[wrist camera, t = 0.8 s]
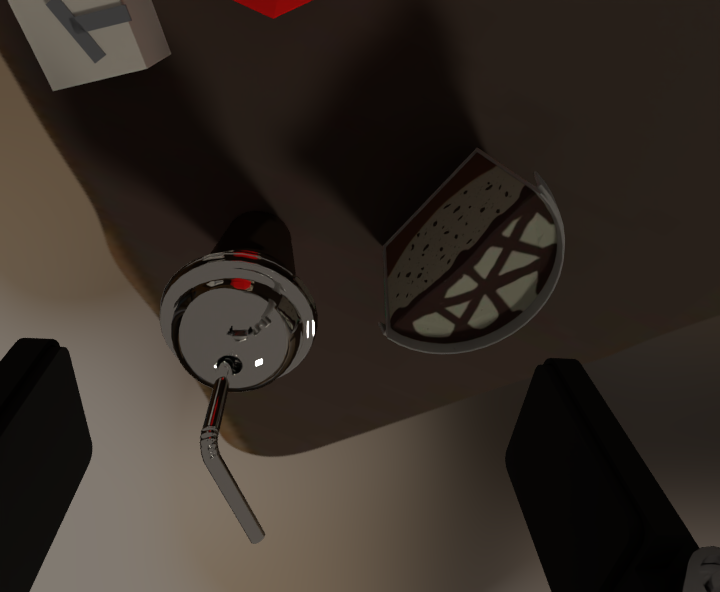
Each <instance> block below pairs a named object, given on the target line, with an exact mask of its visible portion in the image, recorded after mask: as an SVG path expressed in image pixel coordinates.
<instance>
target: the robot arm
mask: <svg viewBox="0 0 720 592" xmlns="http://www.w3.org/2000/svg"><path fill="white" fill-rule="evenodd" d="M91 456H92V441H91V437H90V434H89V429H88V426H87V422H86V418H85V414H84V410H83V406H82V402H81V398H80V394H79V390H78V386H77V382H76V378H75V374H74V370H73V366H72V362H71V358H70V354H69V351H68V350H67V348H65V347H60V345H59V343H58V342H57V341H56V340H54V339H38V338H36V339H35V338H21V339H19V340H18V341H17V342H16V343H15V344H14V345H13V346H12V348H11V349H10V350H9V351H8V353H7V354H6V355H5V356H4V357H3V359H2V360H1V361H0V592H29V591H30V589H31V587H32V585H33V583H34V581H35V578H36V576H37V574H38V572H39V570H40V568H41V566H42V563H43V561H44V559H45V557H46V555H47V553H48V551H49V549H50V546H51V544H52V542H53V540H54V538H55V536H56V534H57V531H58V529H59V527H60V525H61V523H62V521H63V519H64V516H65V514H66V512H67V510H68V508H69V506H70V504H71V501H72V499H73V497H74V495H75V493H76V491H77V489H78V486H79V484H80V482H81V480H82V478H83V475H84V474H85V471H86V469H87V467H88V465H89V463H90V460H91ZM505 462H506V468H507V471H508V474H509V477H510V479H511V482H512V485H513V487H514V490H515V493H516V496H517V499H518V501H519V504H520V507H521V510H522V512H523V515H524V518H525V520H526V523H527V526H528V529H529V531H530V534H531V537H532V540H533V542H534V545H535V548H536V551H537V553H538V556H539V559H540V562H541V564H542V567H543V570H544V573H545V575H546V578H547V581H548V583H549V586H550V589H551V592H720V548H719V547H715V546H711V547H702V548H699V547H698V545H697V544H696V542H695V541H694V539H693V537H692V536H691V534H690V532H689V531H688V529H687V528H686V526H685V524H684V523H683V521H682V520H681V518H680V517H679V515H678V514H677V512H676V511H675V509H674V508H673V506H672V504H671V503H670V501H669V500H668V498H667V497H666V495H665V494H664V492H663V490H662V489H661V487H660V486H659V484H658V483H657V481H656V480H655V478H654V476H653V475H652V473H651V472H650V470H649V469H648V467H647V466H646V464H645V463H644V461H643V459H642V458H641V457H640V455H639V453H638V452H637V450H636V449H635V447H634V445H633V444H632V442H631V441H630V439H629V438H628V436H627V435H626V433H625V432H624V430H623V428H622V427H621V425H620V424H619V422H618V421H617V419H616V418H615V416H614V415H613V413H612V412H611V410H610V408H609V407H608V405H607V404H606V402H605V401H604V399H603V397H602V396H601V395H600V393H599V391H598V390H597V388H596V387H595V385H594V384H593V382H592V380H591V379H590V377H589V376H588V374H587V373H586V371H585V370H584V368H583V367H582V365H581V363H580V362H579V361H578V360H576V359H560V358H549V359H547V360H546V361H545V362H544V364H543V365H538V366H537V367H536V369H535V372H534V374H533V377H532V380H531V383H530V386H529V389H528V391H527V395H526V397H525V400H524V403H523V406H522V408H521V411H520V414H519V417H518V420H517V423H516V425H515V428H514V431H513V434H512V437H511V439H510V442H509V445H508V448H507V451H506V457H505Z"/></svg>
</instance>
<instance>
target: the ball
mask: <svg viewBox="0 0 720 592" xmlns="http://www.w3.org/2000/svg"><path fill="white" fill-rule="evenodd" d="M234 1H236V2H238V3H240V4H242V5H244V6H247V7H249V8H251V9H253V10H255V11H258V12H260V13H262V14H264V15H266V16H268V17H271V18H276V17H278V16H280V15H282V14H284V13H286V12H288V11H291V10H293V9H295V8H297V7H299V6H301V5H303V4H306V3H308V2H310V1H312V0H234Z"/></svg>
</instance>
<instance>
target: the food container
mask: <svg viewBox="0 0 720 592" xmlns="http://www.w3.org/2000/svg"><path fill="white" fill-rule="evenodd" d="M534 176H535V179H536V182H537V186H536V187H535V186H534V185H532V184H531V183H529V182H528V181H526V180H525V179H523V178H522V177H520V176H519V175H517V174H516V173H514V172H513V171H512V170H510V169H509V168H507V167H506V166H504V165H503V164H501V163H500V162H498V161H497V160H495V159H494V158H492V157H491V156H489V155H488V154H486V153H485V152H483V151H482V150H481V149H479V148H478V147H477V148H476V149H475V150H474V151H473V152H472V153H471V154H470V155H469V156H468V157H467V158H466V159H465V160H464V161H463V163H462V164H461V165H460V166H459V167H458V168H457V169H456V170H455V171H454V172H453V173H452V174H451V175H450V176H449V177H448V178H447V179H446V180H445V181H444V182H443V183H442V185H441V186H440V187H439V188H438V189H437V190H436V191H435V192H434V193H433V194H432V195H431V196H430V197H429V198H428V199H427V200H426V201H425V202H424V203H423V204H422V205H421V207H420V208H419V209H418V210H417V211H416V212H415V213H414V214H413V215H412V216H411V217H410V218H409V219H408V220H407V221H406V222H405V223H404V224H403V225H402V226H401V227H400V228H399V230H398V231H397V232H396V233H395V234H394V235H393V236H392V237H391V238H390V239H389V240H388V241H387V242H386V243H385V244H384V245H383V246H382V248H383V272H384V295H385V319H386V325H385V324H383V323H381V322H379V323H378V325H379V327H380V329H381V331H382V333H383V335H385V336H387V338H388V339H389V340H391V341H393V342H395V343H397V344H398V345H401V346H404V347H406V348H409V349H412V350H416V351H420V352H424V353H433V354H457V353H463V352H469V351H473V350H477V349H480V348H484V347H487V346H489V345H492V344H494V343H496V342H499V341H501V340H503V339H504V338H506V337H508V336H510V335H511V334H513V333H515V332H516V331H517V330H519V329H520V328H521V327H523V326H524V325H525V324H527V323H528V322H529V321H530V320H531V319H532V318H533V317H534V316H535V315H536V314H537V313H538V312H539V310H540V309H541V308H542V307H543V306H544V304H545V303H546V302H547V300H548V299H549V297H550V295H551V294H552V292H553V290H554V288H555V286H556V284H557V281H558V279H559V276H560V273H561V269H562V265H563V261H564V246H565V236H564V227H563V222H562V219H561V216H560V213H559V210H558V207H557V205H556V202H555V199H554V197H553V195H552V193H551V191H550V189H549V188H548V186H547V184H546V182H545V181H544V180H543V179H542V178H541V176H540V175H539V174H538V173H537V172H536V171H535V172H534Z"/></svg>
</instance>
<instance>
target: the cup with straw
mask: <svg viewBox="0 0 720 592" xmlns="http://www.w3.org/2000/svg"><path fill="white" fill-rule="evenodd" d="M160 325H161V331H162V334H163V336H164V339H165V341H166V343H167V345H168V346H169V348H170V349H171V351H172V352H173V353H174V355H175V356H176V357H177V358H178V359H179V361H180V363H181V364H182V366H183V367H184V368H185V370H186V371H187V372H188V373H189V374H190V375H191V376H192V377H193V378H195V379H196V380H198V381H199V382H201V383H202V384H204V385H206V386H208V387H211V388H213V390H212V394H211V398H210V402H209V406H208V409H207V414H206V418H205V421H204V425H203V428H202V430H201V436H200V449H201V455H202V458H203V461H204V463H205V465H206V467H207V468H208V470H209V472H210V474H211V475H212V477H213V479H214V480H215V482H216V484H217V485H218V487H219V489H220V490H221V492H222V494H223V495H224V497H225V499H226V501H227V502H228V504H229V506H230V507H231V509H232V511H233V512H234V514H235V516H236V518H237V519H238V521H239V522H240V524H241V526H242V528H243V529H244V531H245V533H246V534H247V536H248V538H249V539H250V541H251V543H253V544H256V543H258V542H260V541H261V540H262V539H263V538H264V536H265V532H264V531H263V529H262V527H261V525H260V524H259V522H258V520H257V518H256V517H255V515H254V513H253V511H252V510H251V508H250V506H249V505H248V502H247V501H246V499H245V497H244V495H243V494H242V492H241V490H240V489H239V487H238V485H237V483H236V481H235V480H234V478H233V476H232V474H231V473H230V471H229V469H228V467H227V466H226V464H225V462H224V460H223V459H222V457H221V455H220V452H219V449H218V443H217V441H218V439H217V438H218V435H219V429H220V425H221V421H222V416H223V412H224V407H225V403H226V399H227V394H228V392H246V391H253V390H256V389H259V388H262V387H264V386H266V385H268V384H270V383H272V382H273V381H274V380H276V379H277V378H279V377H281V376H283V375H285V374H287V373H289V372H290V371H291V370H293V369H294V368H295V367H296V366H298V365H299V364H300V363H301V361H302V360H303V359H304V358H305V357H306V356H307V354H308V352H309V350H310V348H311V346H312V343H313V341H314V339H315V335H316V331H317V327H318V314H317V310H316V306H315V302H314V300H313V298H312V296H311V294H310V292H309V290H308V288H307V287H306V286H305V285H304V283H303V282H302V281H301V280H300V278H299V277H297V276H296V272H295V264H294V256H293V248H292V243H291V235H290V232H289V230H288V228H287V226H286V225H285V224H284V222H283V221H281V220H280V219H279V218H278V217H276V216H275V215H273V214H270V213H268V212H263V211H250V212H246V213H243V214H241V215H239V216H238V217H236V218H235V219H234V220H233V221H232V223H231V224H230V226H229V227H228V228H227V230H226V231H225V233H224V234H223V236H222V237H221V239H220V240H219V241H218V243H217V244H216V246H215V247H214V249H213V250H212V252H211V253H210V254H209V255H206V256H203V257H200V258H198V259H195V260H193V261H192V262H190V263H188V264H187V265H185V266H183V267H182V268H181V269H180V270H179V271H178V272H177V273H176V274H175V275H174V276H173V277H172V278H171V279H170V281H169V283H168V284H167V286H166V287H165V289H164V292H163V296H162V299H161V307H160Z"/></svg>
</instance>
